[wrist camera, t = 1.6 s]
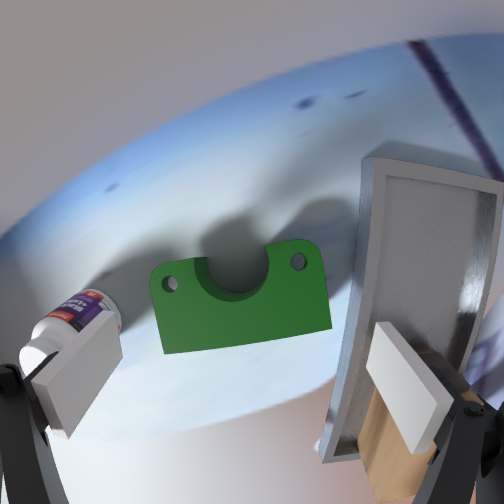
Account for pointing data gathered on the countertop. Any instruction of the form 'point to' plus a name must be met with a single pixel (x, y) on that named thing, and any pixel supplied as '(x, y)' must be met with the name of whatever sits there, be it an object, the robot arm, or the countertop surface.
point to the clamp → (240, 302)
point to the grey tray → (413, 278)
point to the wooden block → (399, 442)
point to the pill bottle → (64, 326)
